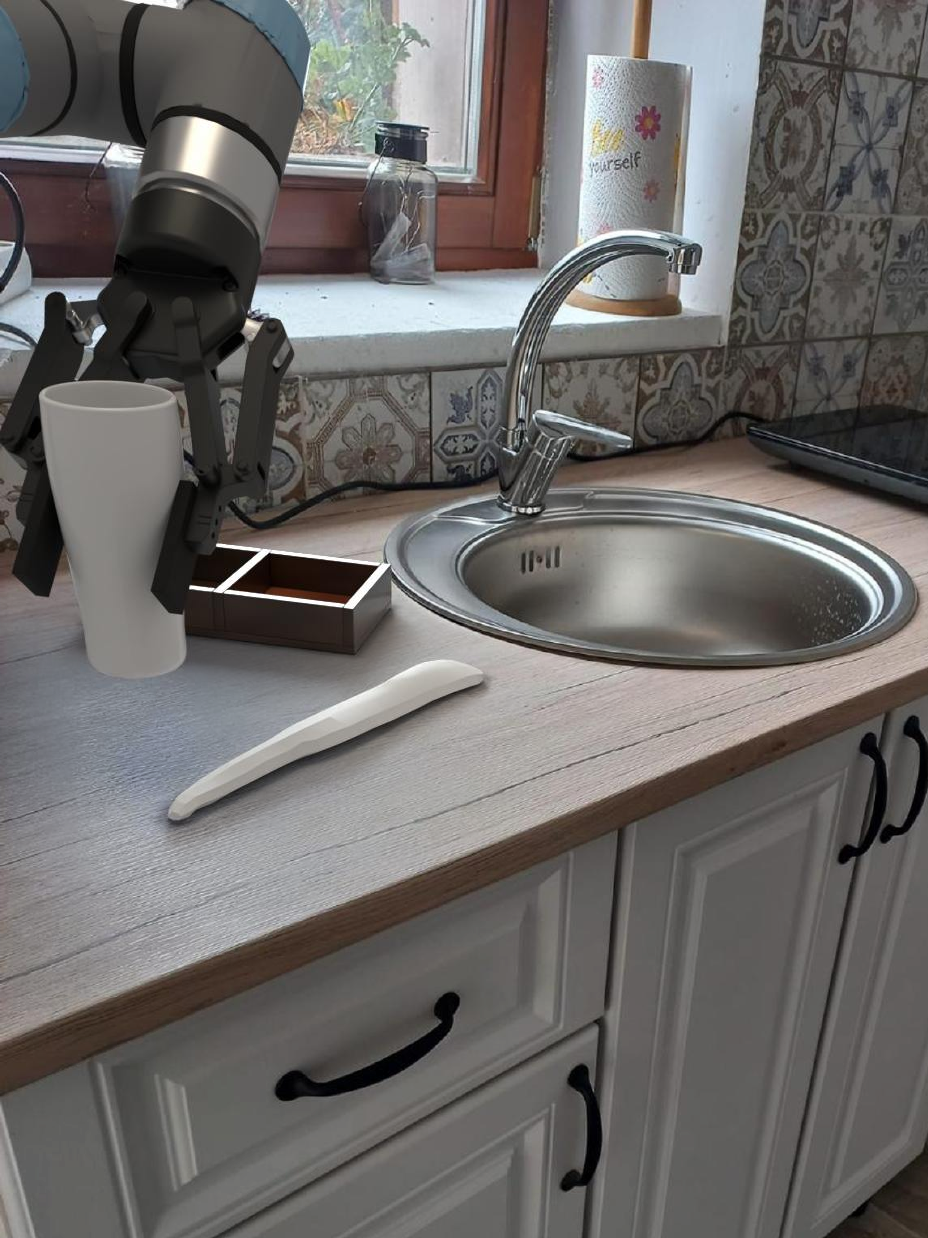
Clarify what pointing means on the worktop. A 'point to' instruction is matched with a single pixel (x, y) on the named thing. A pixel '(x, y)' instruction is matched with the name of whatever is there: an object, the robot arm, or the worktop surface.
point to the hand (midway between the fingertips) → (98, 593)
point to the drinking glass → (116, 515)
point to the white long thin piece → (330, 729)
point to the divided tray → (287, 598)
